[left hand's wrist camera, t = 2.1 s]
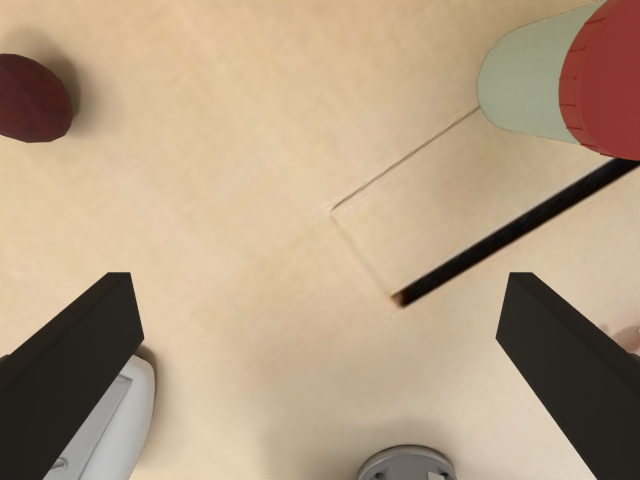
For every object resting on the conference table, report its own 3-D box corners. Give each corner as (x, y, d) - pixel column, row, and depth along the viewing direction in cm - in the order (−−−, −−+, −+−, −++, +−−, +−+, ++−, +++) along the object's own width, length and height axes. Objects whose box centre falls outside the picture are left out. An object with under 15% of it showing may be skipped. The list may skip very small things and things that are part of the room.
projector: (207, 446, 54) (170, 564, 41) (72, 478, 57) (-6, 598, 43) (136, 327, 46) (60, 424, 33) (-17, 370, 49) (-146, 476, 35)
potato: (44, 41, 34) (-20, 28, 28) (105, 113, 37) (58, 117, 30) (-6, 88, 36) (-79, 86, 29) (55, 154, 38) (1, 167, 32)
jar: (456, 86, 36) (546, 80, 22) (536, -1, 33) (700, -73, 19) (517, 151, 38) (635, 185, 24) (597, 75, 36) (783, 61, 21)
